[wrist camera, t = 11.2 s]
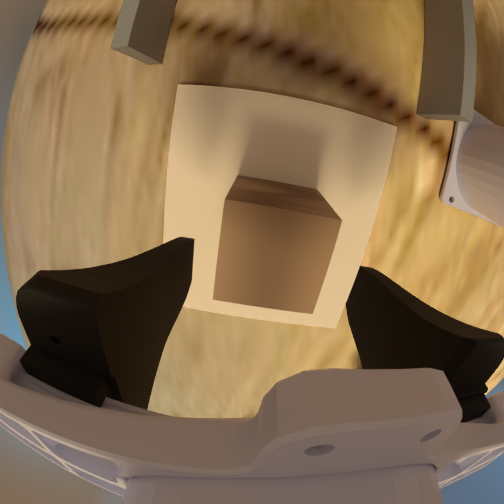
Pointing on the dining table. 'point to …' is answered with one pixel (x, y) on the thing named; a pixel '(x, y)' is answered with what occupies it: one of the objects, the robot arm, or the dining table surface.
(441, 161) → the dining table surface
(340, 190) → the mat
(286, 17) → the dining table surface
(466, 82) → the open box
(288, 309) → the walnut block
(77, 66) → the dining table surface
